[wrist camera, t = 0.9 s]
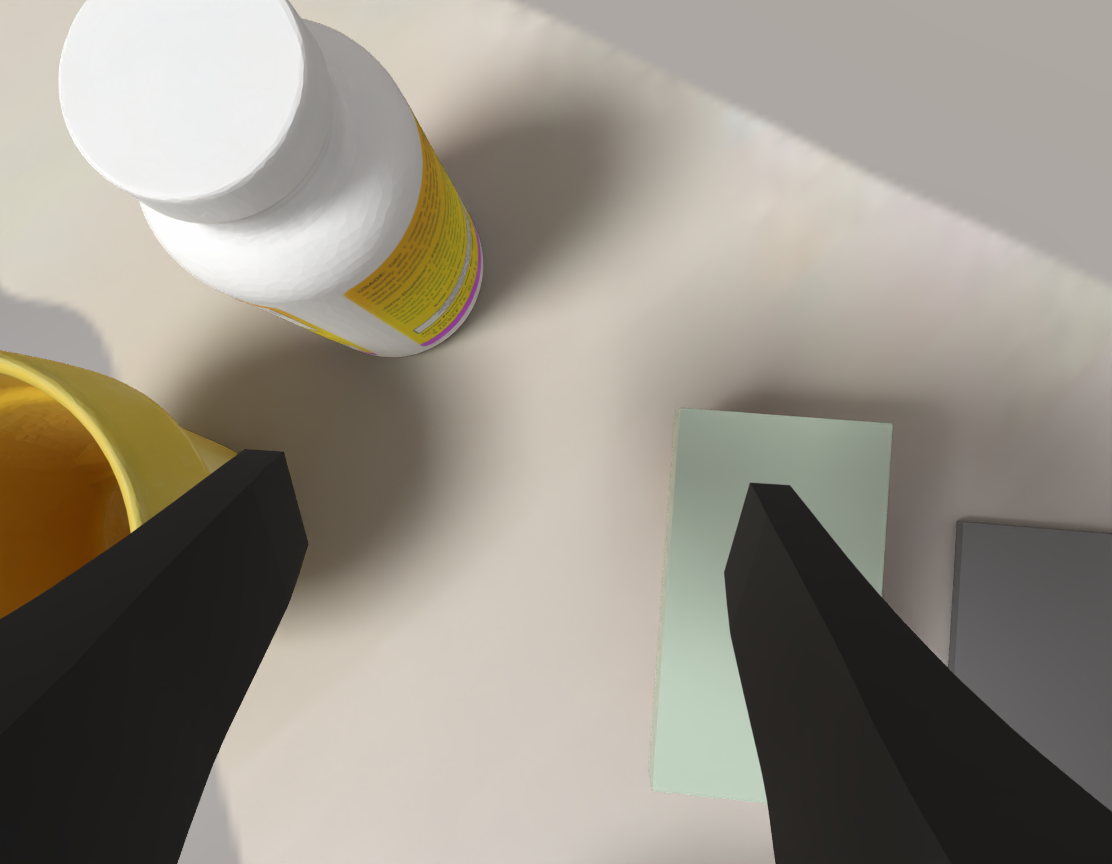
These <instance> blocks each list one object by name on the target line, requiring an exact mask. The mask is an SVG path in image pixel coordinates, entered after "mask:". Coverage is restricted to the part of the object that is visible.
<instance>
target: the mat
mask: <svg viewBox="0 0 1112 864" xmlns="http://www.w3.org/2000/svg"><path fill="white" fill-rule="evenodd" d="M948 668H949V669H950V670H951V671H952V672H953V673H954V674H955V675H956V676H957V677H958V678H959V679H960V680H961V681H962V682H963V683H964V684H965V685H966V686H967V687H968V688H969V689H970V690H971V691H973V692H974V693H975V694H976V695H977V696H978V697H979V698H980V699H981V700H982V701H983V702H984V703H985V704H986V705H988V706H989V707H990V708H991V709H992V710H993V711H994V712H995V713H996V714H997V715H998V716H999V717H1000V718H1002V719H1003V720H1004V721H1005V722H1006V723H1007V724H1008V725H1009V726H1010V727H1011V728H1012V729H1014V730H1015V731H1016V732H1017V733H1018V734H1019V735H1020V736H1022V737H1023V738H1024V739H1025V740H1026V741H1027V742H1028V743H1030V744H1031V745H1032V746H1033V747H1034V748H1035V749H1037V750H1038V751H1039V752H1040V753H1041V754H1042V755H1044V756H1045V757H1046V758H1047V759H1048V760H1050V761H1051V762H1052V763H1053V764H1054V765H1056V766H1057V767H1058V768H1059V769H1060V770H1062V771H1063V772H1064V773H1065V774H1066V775H1068V776H1069V777H1070V778H1071V779H1073V780H1074V781H1075V782H1076V783H1077V784H1079V785H1080V786H1081V787H1082V788H1083V789H1085V790H1086V791H1087V792H1088V793H1089V794H1091V795H1092V796H1093V797H1094V798H1095V799H1097V800H1098V801H1099V802H1100V803H1102V804H1103V805H1104V806H1105V807H1107V808H1108V809H1109V810H1111V811H1112V534H1106V533H1094V532H1082V531H1070V530H1058V529H1046V528H1033V527H1021V526H1009V525H997V524H985V523H973V522H961V521H957V532H956V548H955V565H954V581H953V598H952V615H951V631H950V648H949V664H948Z"/></svg>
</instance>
